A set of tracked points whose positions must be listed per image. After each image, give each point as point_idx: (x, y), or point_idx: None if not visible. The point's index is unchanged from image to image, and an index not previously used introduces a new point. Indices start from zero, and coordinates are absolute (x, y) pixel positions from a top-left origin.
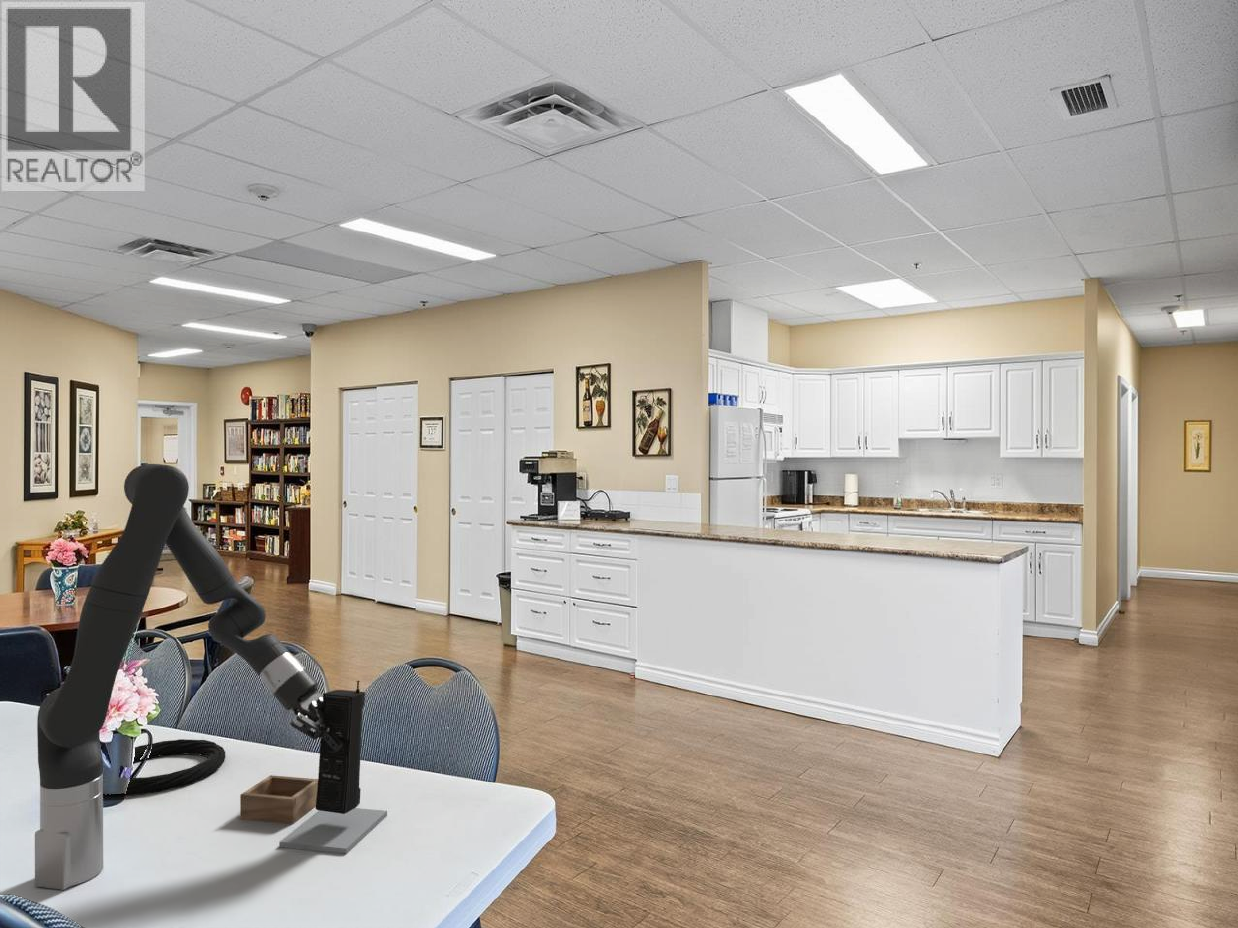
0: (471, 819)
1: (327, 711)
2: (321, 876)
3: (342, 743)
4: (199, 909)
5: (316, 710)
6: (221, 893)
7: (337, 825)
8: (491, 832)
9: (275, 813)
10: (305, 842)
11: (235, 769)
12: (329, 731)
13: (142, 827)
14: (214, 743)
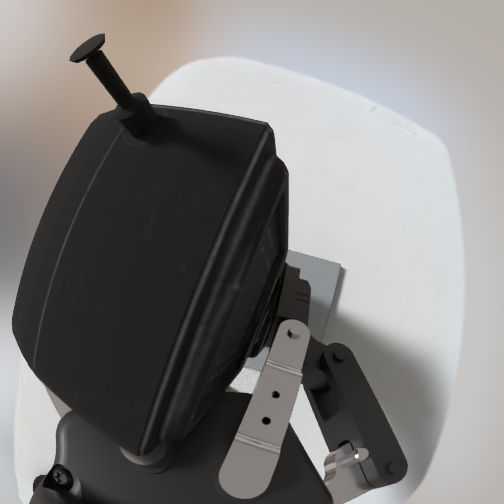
0: (238, 113)
1: (214, 374)
2: (395, 283)
3: (296, 268)
4: (440, 397)
5: (281, 437)
6: (416, 394)
7: None
8: (278, 92)
9: None
10: (316, 339)
11: None
12: (301, 325)
13: None
14: (36, 485)
